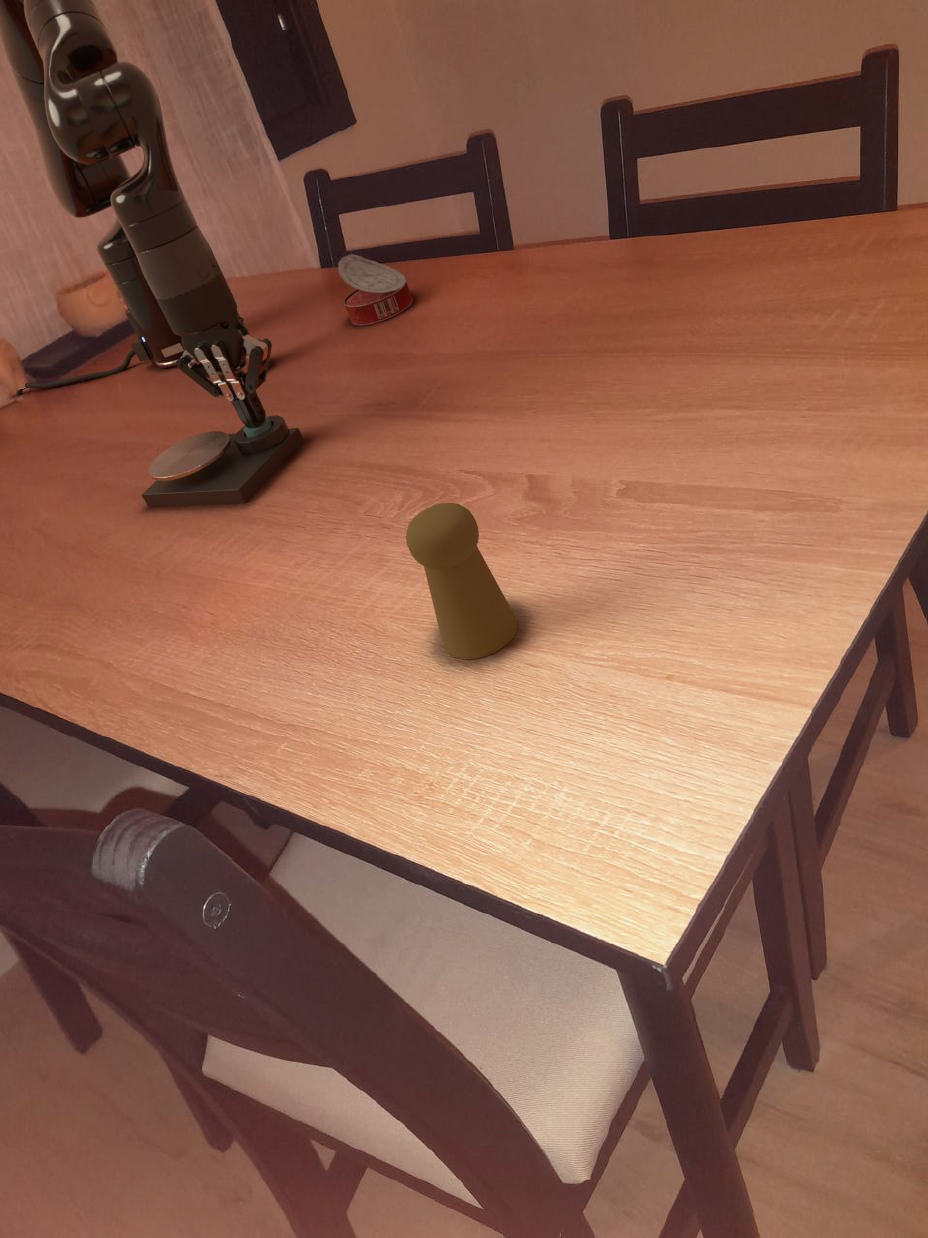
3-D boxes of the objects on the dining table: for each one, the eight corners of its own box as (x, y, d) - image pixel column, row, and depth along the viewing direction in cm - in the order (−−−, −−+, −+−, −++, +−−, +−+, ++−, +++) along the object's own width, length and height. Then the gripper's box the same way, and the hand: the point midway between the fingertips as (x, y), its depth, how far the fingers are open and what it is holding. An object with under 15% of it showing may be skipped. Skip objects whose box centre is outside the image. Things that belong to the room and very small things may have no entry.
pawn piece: (440, 621, 76) (393, 507, 69) (512, 599, 75) (471, 481, 69) (445, 668, 71) (394, 550, 64) (523, 645, 70) (479, 523, 64)
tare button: (244, 443, 111) (238, 432, 110) (258, 429, 113) (253, 418, 112) (265, 441, 109) (259, 430, 108) (279, 427, 111) (274, 415, 110)
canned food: (394, 326, 149) (397, 258, 146) (422, 329, 141) (425, 257, 138) (326, 322, 144) (327, 252, 141) (350, 325, 135) (352, 250, 132)
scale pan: (133, 483, 109) (131, 479, 109) (184, 437, 116) (182, 433, 116) (197, 479, 104) (195, 475, 104) (246, 431, 111) (244, 428, 111)
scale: (148, 508, 111) (133, 483, 109) (213, 446, 120) (200, 422, 118) (246, 504, 104) (231, 476, 102) (307, 439, 113) (295, 412, 111)
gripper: (253, 255, 99) (317, 403, 109) (162, 274, 106) (231, 412, 116) (213, 285, 95) (284, 437, 104) (121, 303, 101) (196, 445, 111)
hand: (256, 423), depth 110 cm, fingers closed
